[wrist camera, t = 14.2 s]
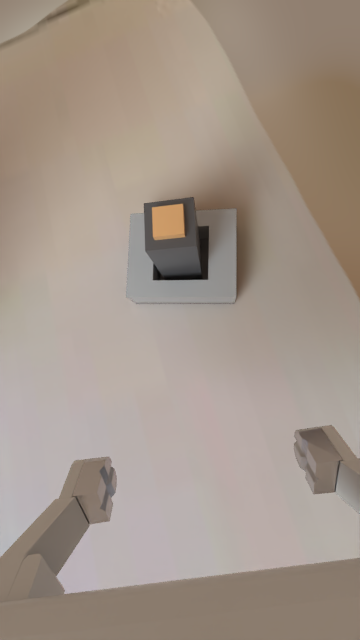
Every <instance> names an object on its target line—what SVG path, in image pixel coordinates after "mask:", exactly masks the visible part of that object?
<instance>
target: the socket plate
mask: <svg viewBox="0 0 360 640" xmlns="http://www.w3.org/2000/svg"><path fill="white" fill-rule="evenodd" d="M196 217H197V223H198V230H199V237H200V243H201V258H202V276H203V279H198V280H165V278H164V277H163V276H162V274H161V273H160V271H159V270H158V269H157V267H156V266H155V264H154V263H153V262H152V260H151V259H150V257H149V256H148V254H147V253H146V252H145V228H144V213H136V214H131V215H130V233H129V252H128V270H127V289H126V297H127V298H128V299H130V300H132V301H133V302H135V303H147V304H234V302H235V299H236V208H235V209H215V210H196Z"/></svg>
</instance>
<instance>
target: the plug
mask: <svg viewBox="0 0 360 640" xmlns="http://www.w3.org/2000/svg"><path fill="white" fill-rule="evenodd" d="M144 228H145V252H146V253H147V254H148V256H149V257H150V259H151V260H152V262H153V263H154V264H155V266H156V267H157V269H158V270H159V271H160V273H161V274H162V276H163V277H164V278H165V280H198V279H203V276H202V258H201V243H200V237H199V230H198V223H197V217H196V210H195V204H194V197H191V198H183V199H175V200H167V201H159V202H152V203H144Z"/></svg>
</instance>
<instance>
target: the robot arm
mask: <svg viewBox="0 0 360 640" xmlns="http://www.w3.org/2000/svg"><path fill="white" fill-rule="evenodd" d="M294 437H295V439H296V442H295V443H294V452H295V456H296V459H297V462H298V464H299V466H300V468H301V469H303V470H304V471H305V472H306V477H305V478H306V480H307V482H308V484H309V486H310V488H311V490H312V492H313V494H322V493H332V492H335V493H336V494H337V495H338V496H339V497H340V498H341V499H342V500H344V501H345V502H346V503H347V504H348V505H349V506H351V507H352V508H353V509H354V510H355V511H356V512H358V513H359V514H360V459H357V457H356V456H355V455H354V453H353V452H352V451H351V449H350V448H349V447H348V445H347V444H346V443H345V441H344V440H343V439H342V437H341V436H340V435H339V433H338V432H337V431H336V429H335V428H334V427H333V426H332V425H329V426H322V427H313V428H307V429H300V430H296V431H295V434H294ZM111 463H112V461H111V459H110V457H101V458H92V459H84V460H76V461H74V462H73V464H72V465H71V468H70V471H69V473H68V476H67V478H66V481H65V484H64V486H63V489H62V491H61V494H60V497H59V499H55V500H54V501H53V502H52V503H51V504H50V506H49V507H48V508H47V509H46V510H45V511H44V512H43V513H42V514H41V515H40V516H39V517H38V518H37V519H36V520H35V521H34V523H33V524H32V525H31V526H30V527H29V528H28V529H27V530H26V531H25V532H24V533H23V534H22V535H21V536H20V537H19V538H18V539H17V541H16V542H15V543H14V544H13V545H12V546H11V547H10V548H9V549H8V550H7V551H6V552H5V553H4V554H3V555H2V556H1V558H0V640H360V558H355V559H347V560H339V561H331V562H322V563H314V564H306V565H298V566H290V567H281V568H273V569H265V570H257V571H249V572H241V573H232V574H224V575H216V576H208V577H200V578H192V579H183V580H175V581H167V582H159V583H151V584H143V585H135V586H127V587H118V588H110V589H102V590H94V591H86V592H78V593H70V594H64V592H65V590H64V588H63V586H62V584H61V583H60V582H59V580H58V579H57V577H56V576H57V574H58V573H59V571H60V570H61V568H62V567H63V565H64V564H65V562H66V561H67V559H68V558H69V556H70V555H71V553H72V552H73V550H74V549H75V547H76V546H77V544H78V543H79V541H80V539H81V538H82V536H83V535H84V533H85V532H86V530H87V529H88V527H89V524H95V523H101V522H107V521H110V517H111V512H112V507H113V502H112V500H111V497H112V496H113V495H114V494H115V491H116V484H117V477H116V472H115V469H114V468H113V467H111Z"/></svg>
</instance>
